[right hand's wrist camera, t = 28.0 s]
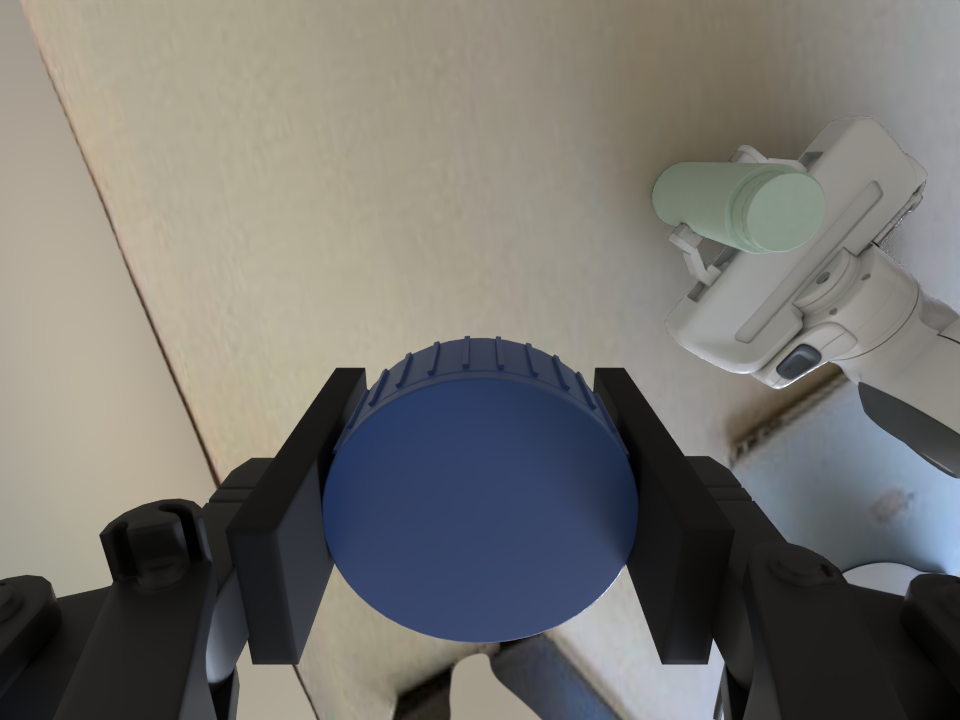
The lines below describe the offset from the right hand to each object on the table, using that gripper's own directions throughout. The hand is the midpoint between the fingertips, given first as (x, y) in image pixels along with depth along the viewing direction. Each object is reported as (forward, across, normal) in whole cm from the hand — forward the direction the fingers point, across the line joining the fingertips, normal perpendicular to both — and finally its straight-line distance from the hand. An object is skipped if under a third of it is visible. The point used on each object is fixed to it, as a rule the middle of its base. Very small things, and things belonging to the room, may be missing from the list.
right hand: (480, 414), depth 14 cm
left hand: (+29, +17, +4) cm, 34 cm away
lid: (-4, 0, 0) cm, 4 cm away
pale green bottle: (+36, +18, +4) cm, 40 cm away
